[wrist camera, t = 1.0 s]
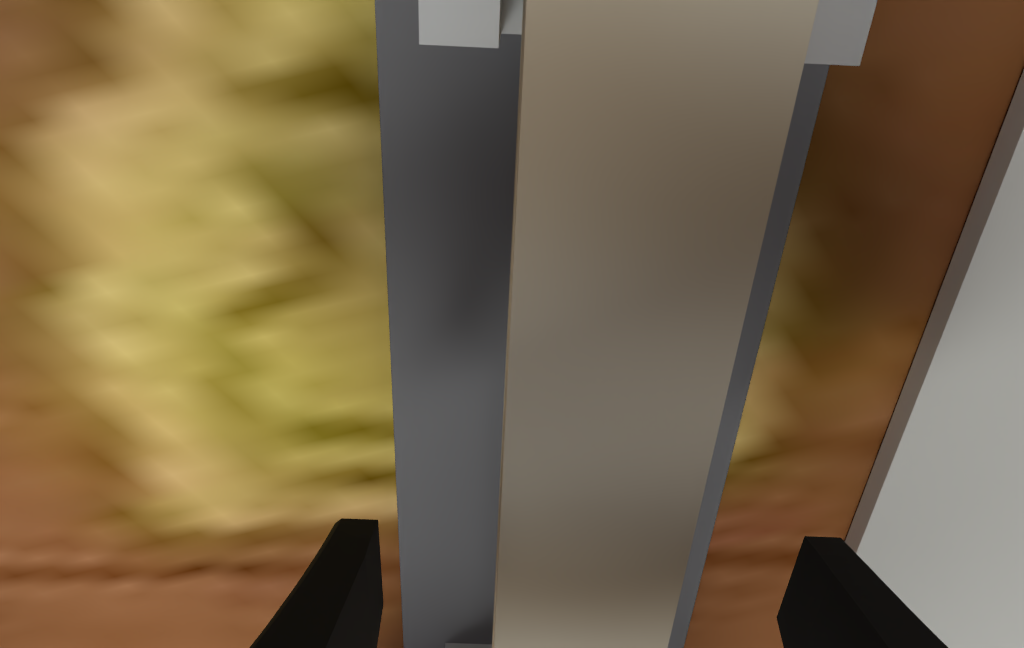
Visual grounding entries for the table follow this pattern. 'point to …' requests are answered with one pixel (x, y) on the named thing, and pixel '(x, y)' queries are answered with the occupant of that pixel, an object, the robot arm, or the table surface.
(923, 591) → the mat
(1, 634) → the table surface
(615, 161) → the rail
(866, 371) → the table surface
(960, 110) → the table surface
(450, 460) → the rack
